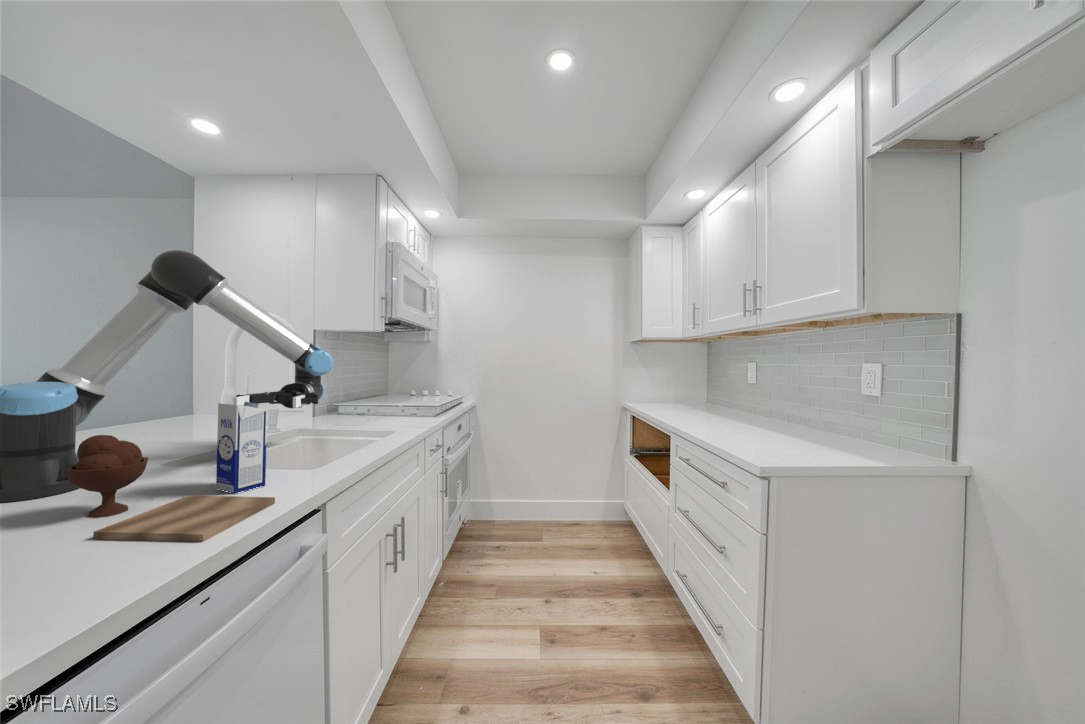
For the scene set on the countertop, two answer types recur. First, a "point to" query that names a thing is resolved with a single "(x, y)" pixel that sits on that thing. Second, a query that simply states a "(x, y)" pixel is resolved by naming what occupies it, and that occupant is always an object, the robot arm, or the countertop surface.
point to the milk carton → (241, 447)
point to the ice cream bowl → (106, 470)
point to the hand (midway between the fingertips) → (265, 402)
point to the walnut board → (186, 519)
